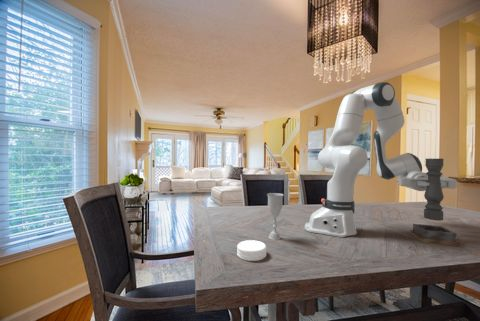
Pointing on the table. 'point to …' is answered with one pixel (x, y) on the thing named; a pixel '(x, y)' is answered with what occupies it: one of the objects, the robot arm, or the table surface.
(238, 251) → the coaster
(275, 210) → the chalice
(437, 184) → the candle holder
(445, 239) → the socket base
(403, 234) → the table surface
